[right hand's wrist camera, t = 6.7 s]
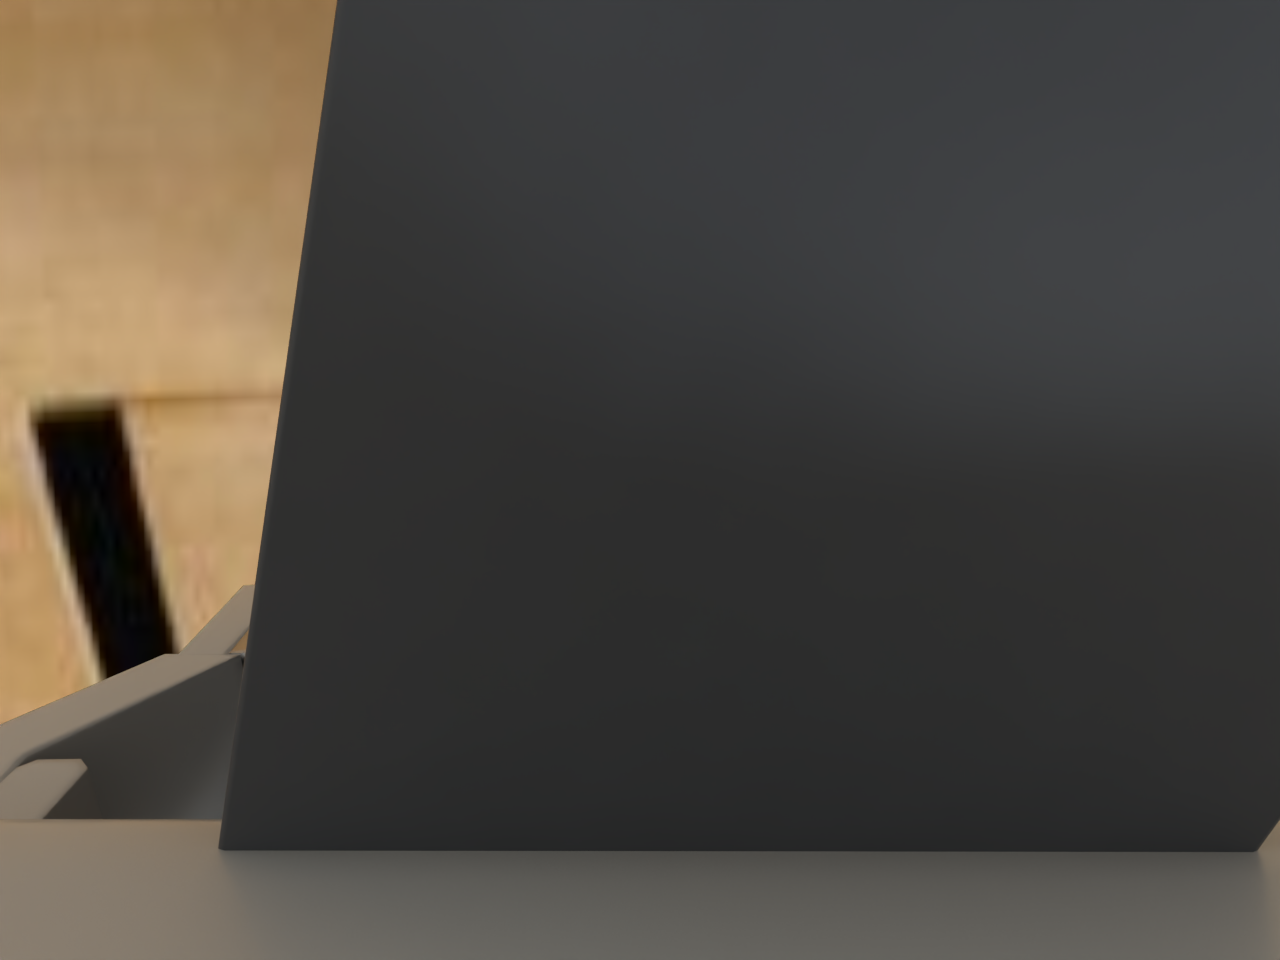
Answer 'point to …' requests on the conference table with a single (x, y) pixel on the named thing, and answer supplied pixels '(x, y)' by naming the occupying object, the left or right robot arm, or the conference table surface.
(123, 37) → the conference table surface
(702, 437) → the box
